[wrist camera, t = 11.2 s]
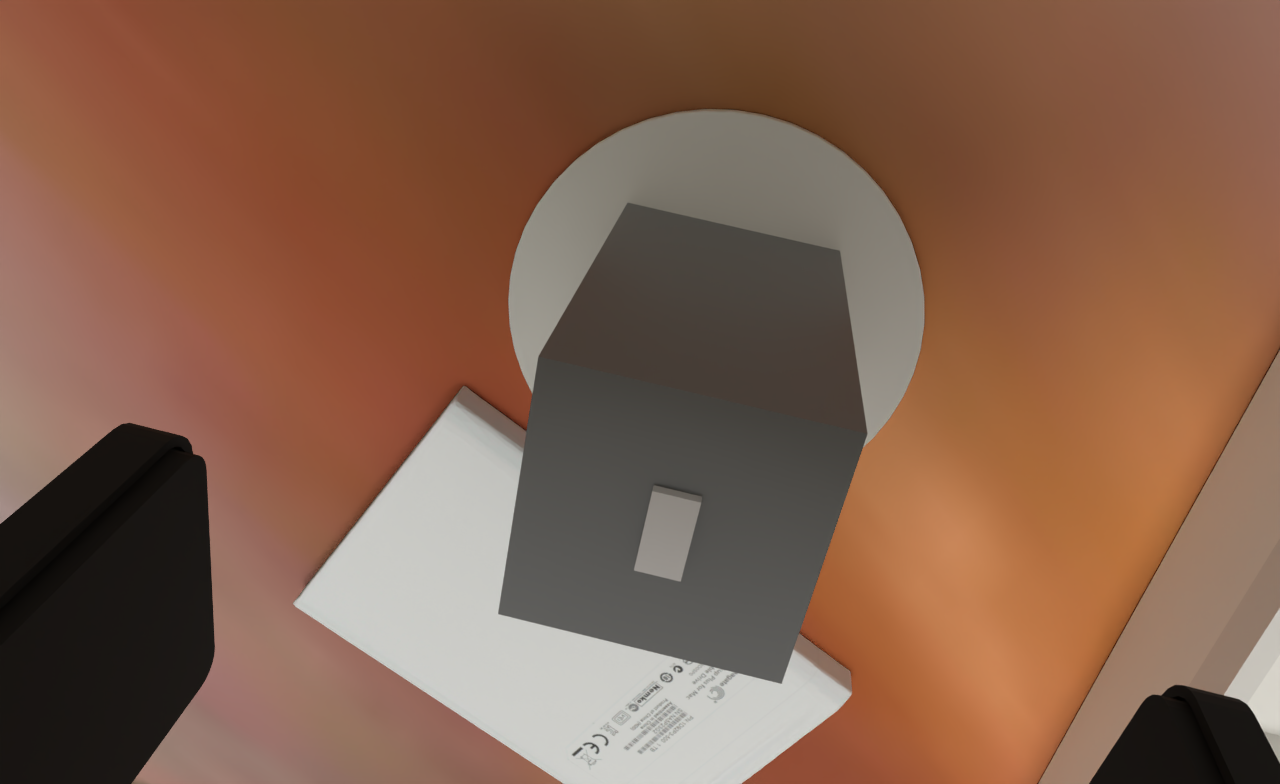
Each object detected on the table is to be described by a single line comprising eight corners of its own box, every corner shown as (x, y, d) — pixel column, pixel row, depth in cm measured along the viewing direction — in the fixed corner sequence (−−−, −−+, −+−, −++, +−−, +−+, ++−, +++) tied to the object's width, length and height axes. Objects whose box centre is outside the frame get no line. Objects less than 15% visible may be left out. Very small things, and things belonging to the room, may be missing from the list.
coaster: (545, 63, 20) (541, 66, 19) (984, 165, 19) (988, 170, 19) (489, 441, 24) (484, 449, 23) (851, 531, 23) (852, 540, 23)
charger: (627, 202, 20) (535, 361, 13) (840, 250, 20) (868, 440, 13) (591, 391, 22) (494, 620, 15) (784, 436, 22) (781, 691, 15)
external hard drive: (471, 373, 24) (851, 658, 26) (314, 573, 27) (660, 809, 29) (449, 403, 22) (855, 702, 24) (287, 610, 26) (653, 855, 28)
